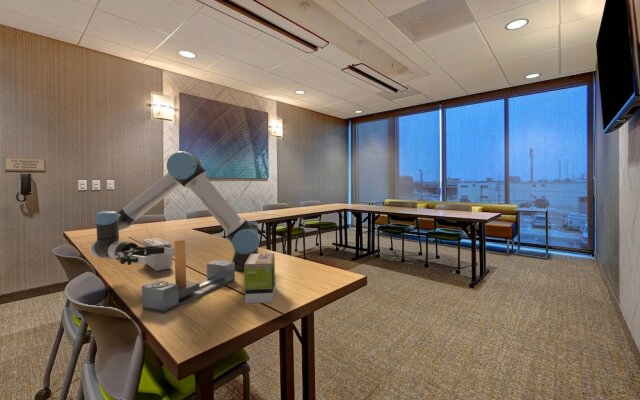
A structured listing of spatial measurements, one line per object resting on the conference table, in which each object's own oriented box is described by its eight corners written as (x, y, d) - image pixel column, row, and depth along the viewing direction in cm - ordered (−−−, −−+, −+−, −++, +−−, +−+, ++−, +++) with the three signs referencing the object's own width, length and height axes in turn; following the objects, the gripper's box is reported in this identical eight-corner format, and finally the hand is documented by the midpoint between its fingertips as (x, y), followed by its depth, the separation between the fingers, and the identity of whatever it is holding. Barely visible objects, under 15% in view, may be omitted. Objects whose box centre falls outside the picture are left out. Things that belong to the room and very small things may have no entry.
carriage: (183, 286, 115) (182, 237, 114) (199, 289, 112) (198, 238, 111) (161, 295, 106) (159, 242, 105) (178, 299, 103) (176, 244, 102)
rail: (216, 277, 134) (216, 258, 133) (234, 280, 130) (234, 260, 129) (142, 309, 100) (141, 283, 100) (163, 314, 97) (162, 287, 96)
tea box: (250, 288, 120) (250, 252, 119) (275, 288, 121) (275, 252, 120) (244, 304, 105) (243, 263, 104) (273, 303, 106) (272, 262, 105)
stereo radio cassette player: (173, 269, 146) (172, 229, 145) (155, 272, 141) (153, 231, 139) (160, 260, 161) (158, 224, 160) (143, 263, 155) (141, 226, 154)
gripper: (152, 253, 132) (188, 258, 124) (91, 268, 109) (130, 275, 101) (151, 236, 131) (187, 240, 123) (90, 248, 108) (129, 253, 100)
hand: (162, 256), depth 112 cm, fingers open, 13 cm apart
